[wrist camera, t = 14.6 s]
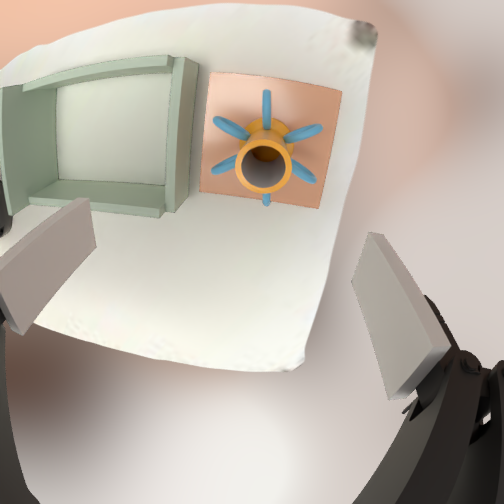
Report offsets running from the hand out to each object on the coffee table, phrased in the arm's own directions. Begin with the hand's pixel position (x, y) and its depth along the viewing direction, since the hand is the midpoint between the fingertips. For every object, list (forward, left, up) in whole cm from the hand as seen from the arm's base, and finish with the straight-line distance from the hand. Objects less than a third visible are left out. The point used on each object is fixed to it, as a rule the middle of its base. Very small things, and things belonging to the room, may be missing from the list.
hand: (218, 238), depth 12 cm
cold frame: (-21, +1, -25) cm, 32 cm away
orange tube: (+2, +1, -24) cm, 24 cm away
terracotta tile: (+2, +1, -25) cm, 25 cm away
